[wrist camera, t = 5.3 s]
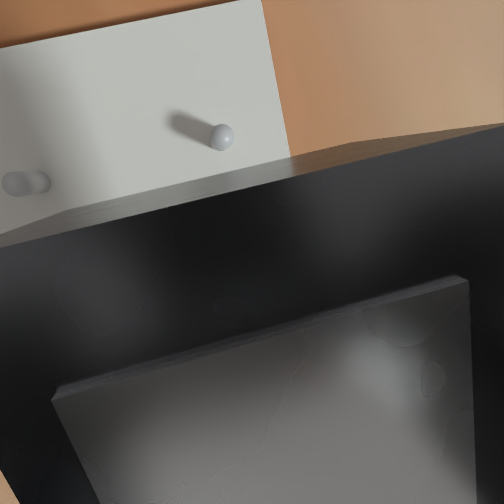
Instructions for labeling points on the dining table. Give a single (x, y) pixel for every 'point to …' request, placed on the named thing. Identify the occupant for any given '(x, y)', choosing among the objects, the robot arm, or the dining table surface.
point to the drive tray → (135, 109)
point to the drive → (266, 334)
